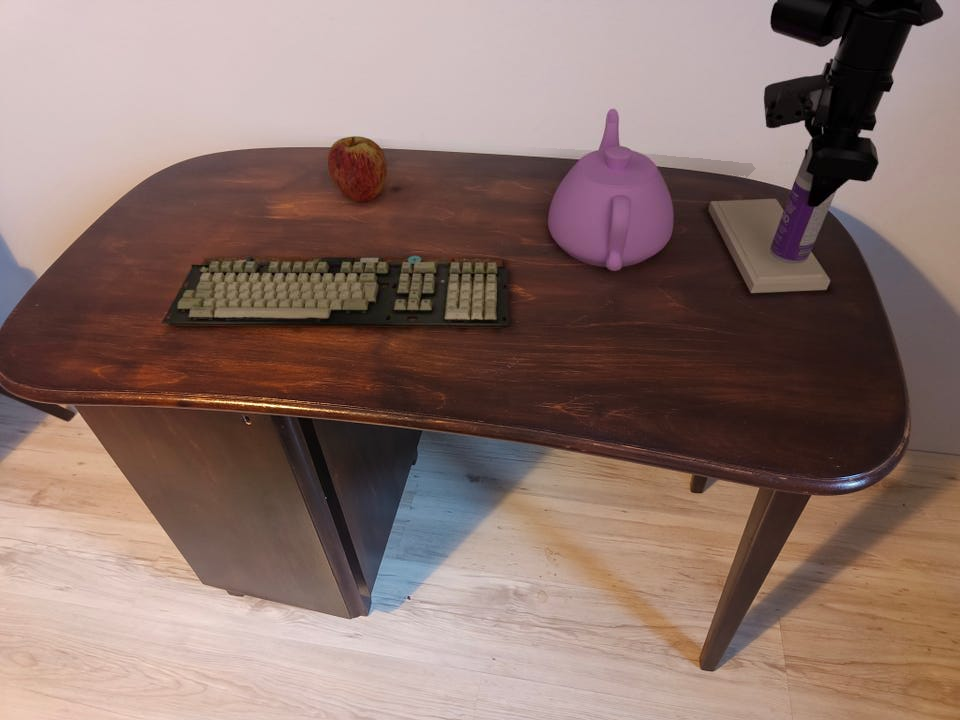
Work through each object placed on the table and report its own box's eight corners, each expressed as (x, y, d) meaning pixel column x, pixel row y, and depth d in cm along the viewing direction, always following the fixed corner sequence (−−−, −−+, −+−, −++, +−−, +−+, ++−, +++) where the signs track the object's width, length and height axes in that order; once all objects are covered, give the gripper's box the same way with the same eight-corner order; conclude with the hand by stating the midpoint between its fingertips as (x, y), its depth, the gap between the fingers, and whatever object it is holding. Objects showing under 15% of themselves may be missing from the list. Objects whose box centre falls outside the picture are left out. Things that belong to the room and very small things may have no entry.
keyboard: (163, 329, 82) (155, 314, 81) (202, 261, 93) (195, 246, 91) (510, 330, 80) (510, 315, 78) (511, 260, 90) (511, 245, 89)
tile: (826, 290, 84) (831, 278, 82) (750, 293, 84) (754, 281, 82) (772, 207, 98) (776, 196, 96) (708, 210, 98) (710, 198, 96)
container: (761, 248, 83) (800, 139, 72) (789, 238, 84) (831, 130, 74) (788, 268, 80) (832, 157, 69) (816, 257, 81) (863, 148, 71)
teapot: (680, 287, 85) (703, 197, 75) (547, 285, 86) (552, 196, 77) (656, 189, 103) (672, 105, 93) (546, 188, 104) (550, 106, 94)
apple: (325, 206, 102) (311, 148, 95) (349, 178, 108) (338, 121, 101) (377, 214, 100) (367, 155, 93) (399, 185, 106) (391, 127, 99)
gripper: (782, 22, 73) (745, 149, 84) (779, 88, 61) (736, 226, 72) (889, 31, 70) (836, 161, 81) (908, 101, 58) (843, 243, 69)
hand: (812, 194), depth 76 cm, fingers closed on container, 5 cm apart
